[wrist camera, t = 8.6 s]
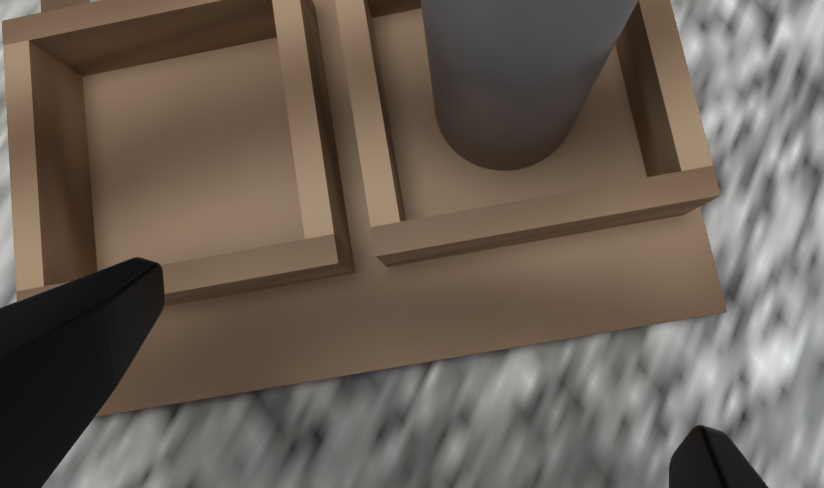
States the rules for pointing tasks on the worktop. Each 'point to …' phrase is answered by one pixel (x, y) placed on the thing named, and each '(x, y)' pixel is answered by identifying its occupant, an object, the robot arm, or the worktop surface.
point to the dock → (339, 191)
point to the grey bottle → (515, 72)
